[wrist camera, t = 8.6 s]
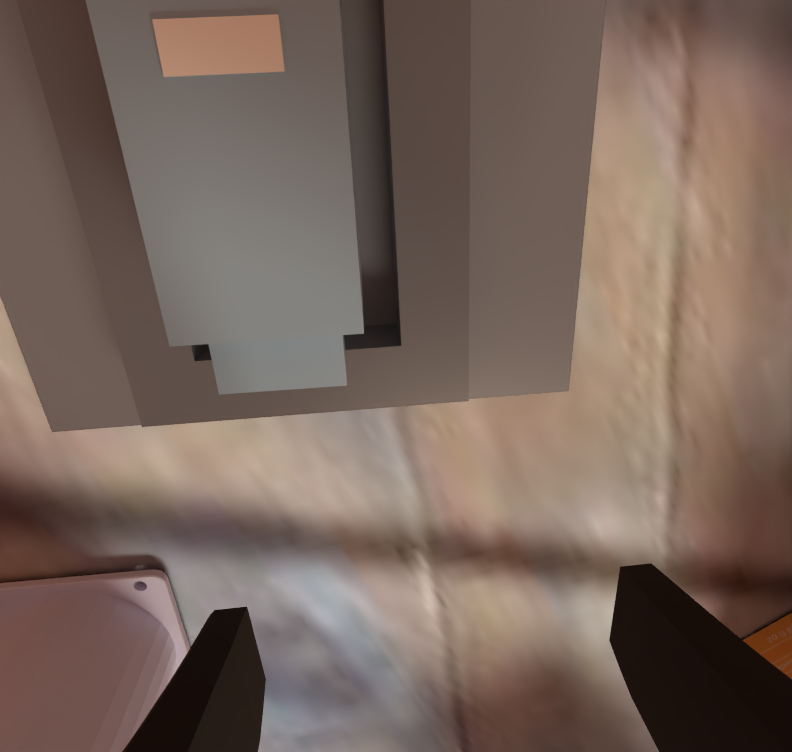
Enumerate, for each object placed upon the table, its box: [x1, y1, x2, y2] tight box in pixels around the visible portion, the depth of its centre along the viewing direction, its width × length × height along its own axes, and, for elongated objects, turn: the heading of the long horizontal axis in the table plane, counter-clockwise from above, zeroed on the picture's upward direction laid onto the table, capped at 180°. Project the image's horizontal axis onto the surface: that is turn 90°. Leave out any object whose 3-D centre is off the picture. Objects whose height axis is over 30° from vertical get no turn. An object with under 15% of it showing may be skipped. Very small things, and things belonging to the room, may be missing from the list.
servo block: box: [86, 0, 364, 395], centre depth 12 cm, size 4×9×6 cm, turn 3°
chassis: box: [0, 0, 606, 432], centre depth 15 cm, size 18×16×3 cm
